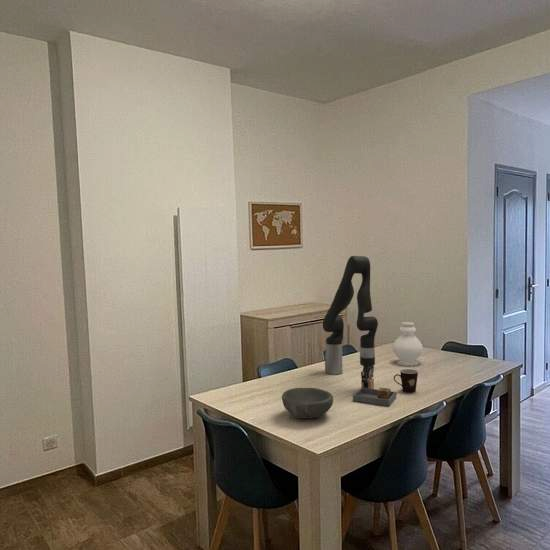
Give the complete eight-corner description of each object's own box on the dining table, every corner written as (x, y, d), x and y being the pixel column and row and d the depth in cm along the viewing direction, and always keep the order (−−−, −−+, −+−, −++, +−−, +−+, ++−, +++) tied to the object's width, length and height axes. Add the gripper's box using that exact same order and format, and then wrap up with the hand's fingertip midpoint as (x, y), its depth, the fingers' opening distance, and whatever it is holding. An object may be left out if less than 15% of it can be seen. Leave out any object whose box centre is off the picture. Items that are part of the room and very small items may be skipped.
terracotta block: (361, 389, 247) (361, 380, 247) (364, 387, 252) (364, 377, 251) (370, 391, 245) (370, 381, 244) (373, 388, 249) (373, 378, 249)
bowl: (338, 424, 202) (338, 401, 202) (284, 427, 201) (284, 403, 200) (328, 405, 225) (327, 384, 224) (279, 408, 223) (279, 386, 223)
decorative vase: (401, 368, 287) (401, 326, 285) (387, 360, 304) (387, 321, 302) (428, 365, 291) (428, 324, 289) (413, 358, 308) (413, 319, 307)
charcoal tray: (352, 401, 230) (352, 395, 230) (361, 393, 242) (361, 387, 242) (388, 406, 222) (388, 400, 222) (396, 398, 234) (396, 391, 234)
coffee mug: (418, 389, 247) (418, 369, 246) (417, 394, 239) (417, 374, 238) (394, 387, 251) (394, 368, 250) (393, 392, 243) (393, 372, 242)
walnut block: (377, 400, 229) (377, 390, 229) (380, 397, 233) (380, 387, 233) (387, 402, 227) (387, 391, 226) (390, 399, 231) (390, 388, 231)
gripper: (364, 351, 255) (365, 383, 256) (355, 358, 242) (355, 391, 244) (378, 353, 251) (379, 385, 253) (370, 359, 239) (370, 393, 240)
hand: (367, 388), depth 248 cm, fingers closed on terracotta block, 5 cm apart
